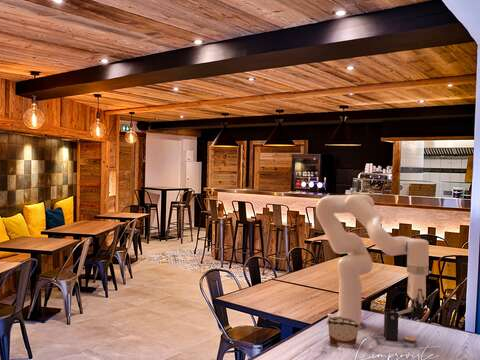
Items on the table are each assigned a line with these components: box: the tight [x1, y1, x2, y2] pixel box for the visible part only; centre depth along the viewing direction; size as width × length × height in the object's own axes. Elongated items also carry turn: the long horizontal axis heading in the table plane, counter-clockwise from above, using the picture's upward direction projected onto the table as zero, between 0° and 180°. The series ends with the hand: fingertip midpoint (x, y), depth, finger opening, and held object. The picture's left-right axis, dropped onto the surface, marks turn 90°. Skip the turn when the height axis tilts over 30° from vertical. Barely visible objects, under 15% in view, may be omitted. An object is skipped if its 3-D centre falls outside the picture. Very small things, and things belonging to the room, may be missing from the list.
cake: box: [402, 334, 417, 344], centre depth 187 cm, size 5×5×3 cm
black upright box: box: [383, 308, 399, 343], centre depth 189 cm, size 10×8×13 cm
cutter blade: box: [391, 305, 414, 316], centre depth 187 cm, size 13×3×3 cm, turn 73°
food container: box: [326, 317, 361, 347], centre depth 186 cm, size 12×6×10 cm, turn 71°
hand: (416, 315), depth 186 cm, fingers closed on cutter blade, 3 cm apart
